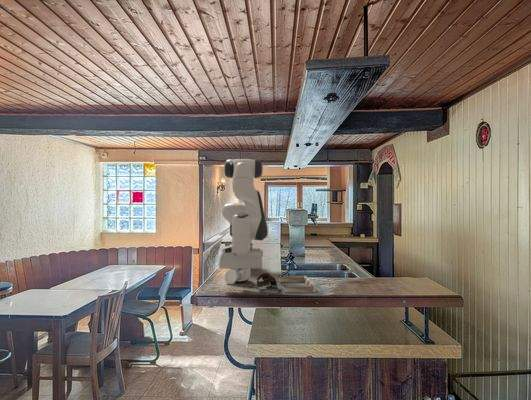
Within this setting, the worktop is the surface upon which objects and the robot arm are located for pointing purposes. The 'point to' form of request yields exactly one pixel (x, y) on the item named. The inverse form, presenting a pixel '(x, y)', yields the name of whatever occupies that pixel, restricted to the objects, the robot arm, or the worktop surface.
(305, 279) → the wooden u-shaped frame
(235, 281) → the spread jar
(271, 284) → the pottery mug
